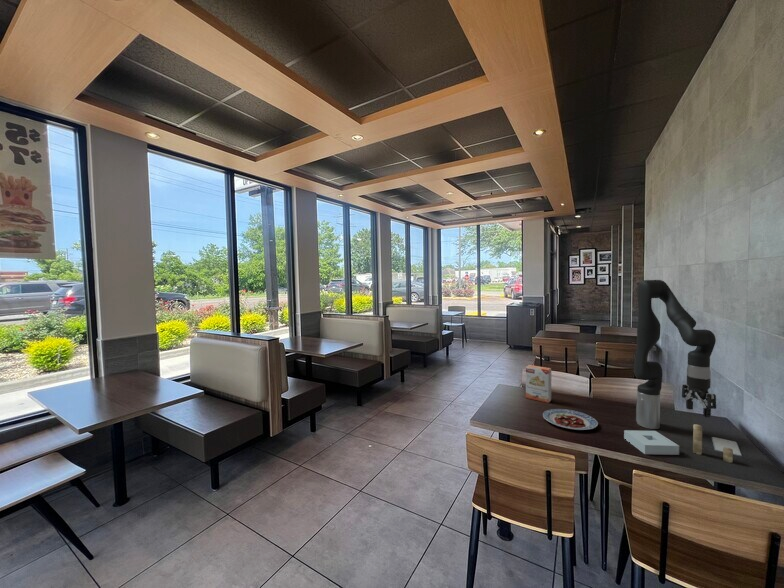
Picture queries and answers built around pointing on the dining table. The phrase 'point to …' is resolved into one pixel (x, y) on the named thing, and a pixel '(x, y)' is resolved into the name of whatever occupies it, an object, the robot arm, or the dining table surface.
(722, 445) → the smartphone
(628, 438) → the hole block
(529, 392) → the cracker box
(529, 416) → the dining table surface
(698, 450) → the long pin
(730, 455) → the short pin
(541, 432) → the dining table surface
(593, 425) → the ceramic plate
